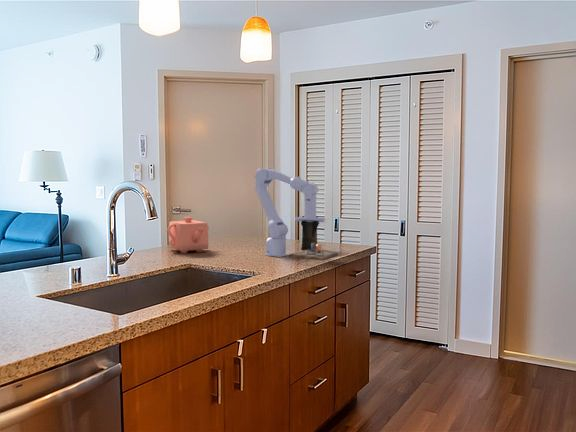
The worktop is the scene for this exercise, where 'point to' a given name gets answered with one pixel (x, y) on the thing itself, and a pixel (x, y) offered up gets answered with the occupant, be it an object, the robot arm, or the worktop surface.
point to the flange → (317, 252)
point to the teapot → (188, 235)
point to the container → (308, 237)
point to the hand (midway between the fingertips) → (309, 236)
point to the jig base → (313, 256)
